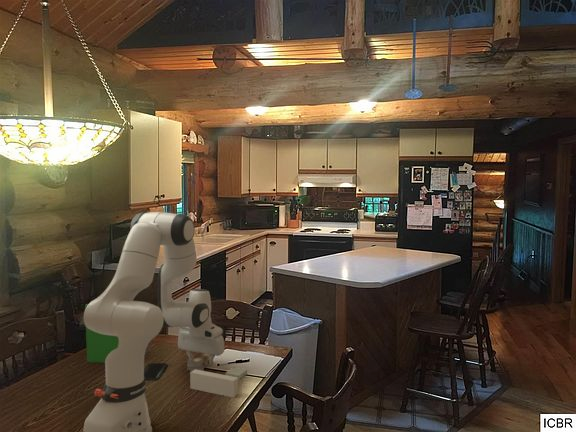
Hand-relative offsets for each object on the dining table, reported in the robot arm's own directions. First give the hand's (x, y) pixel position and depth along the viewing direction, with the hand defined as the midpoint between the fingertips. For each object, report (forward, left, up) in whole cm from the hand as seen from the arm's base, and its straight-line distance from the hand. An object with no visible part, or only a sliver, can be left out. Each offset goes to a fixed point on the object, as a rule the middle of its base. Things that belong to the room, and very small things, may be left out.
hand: (200, 362), depth 195 cm
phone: (-12, +14, -3) cm, 19 cm away
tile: (-1, -17, -2) cm, 17 cm away
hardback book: (-8, +39, -2) cm, 40 cm away
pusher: (0, 0, -2) cm, 2 cm away
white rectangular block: (-14, -17, -2) cm, 22 cm away
